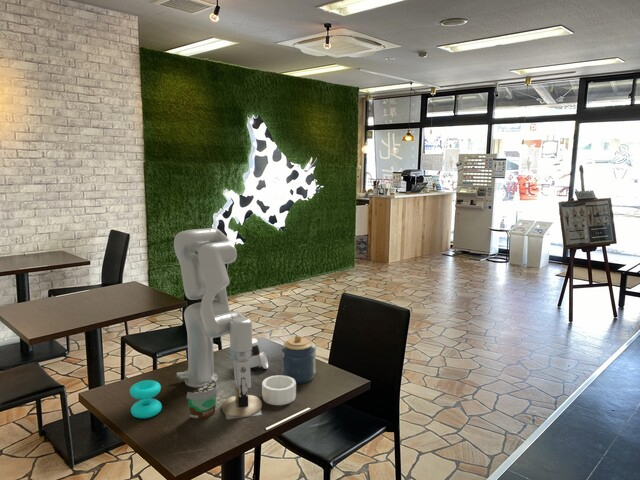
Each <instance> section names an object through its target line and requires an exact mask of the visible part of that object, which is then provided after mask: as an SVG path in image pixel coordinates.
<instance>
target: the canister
mask: <svg viewBox="0 0 640 480" xmlns="http://www.w3.org/2000/svg"><path fill="white" fill-rule="evenodd" d="M281 352H282V355H281V361H282V362H281V375H283V376H289V377H291V378H293V379H294V380H295V382H296V385H297V384H306V383H308V382H310V381H312V380H313V379H314V375H315V374H314V370H313V367H314V356H313V352H314V348H313V347H312V341H311V340H309V339H307V338H305V337H302V336H301V335H299V334H297V335H295V336H294V337H290V338H288V339H287V340H285V342H283V347H282V348H281Z"/></svg>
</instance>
